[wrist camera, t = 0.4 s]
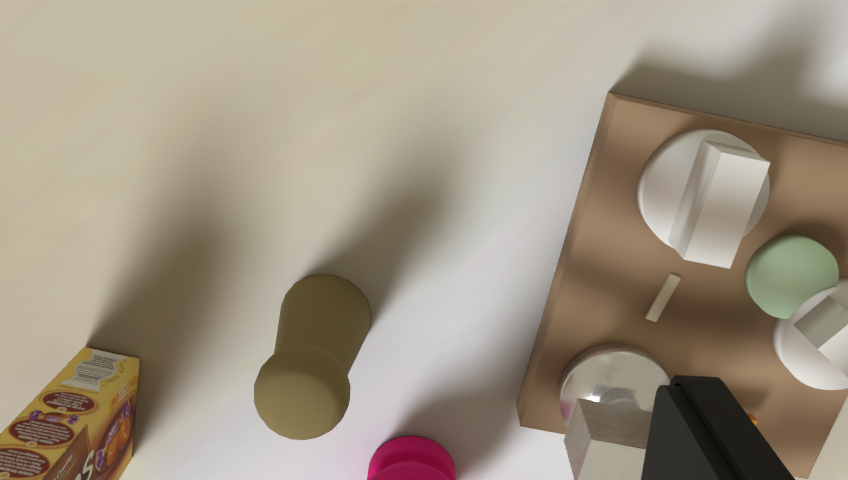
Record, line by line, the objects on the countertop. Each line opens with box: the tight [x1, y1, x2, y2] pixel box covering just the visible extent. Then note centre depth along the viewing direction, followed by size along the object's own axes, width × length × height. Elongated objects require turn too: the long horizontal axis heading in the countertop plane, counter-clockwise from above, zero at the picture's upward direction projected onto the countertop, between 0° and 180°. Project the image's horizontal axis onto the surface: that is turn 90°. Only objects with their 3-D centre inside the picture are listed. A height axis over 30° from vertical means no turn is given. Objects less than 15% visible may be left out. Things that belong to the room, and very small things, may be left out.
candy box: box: [0, 347, 140, 480], centre depth 44 cm, size 9×4×15 cm, turn 168°
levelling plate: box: [517, 92, 848, 479], centre depth 44 cm, size 22×20×7 cm
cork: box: [254, 274, 371, 440], centre depth 44 cm, size 6×6×11 cm
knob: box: [557, 343, 758, 480], centre depth 43 cm, size 12×7×8 cm, turn 78°
